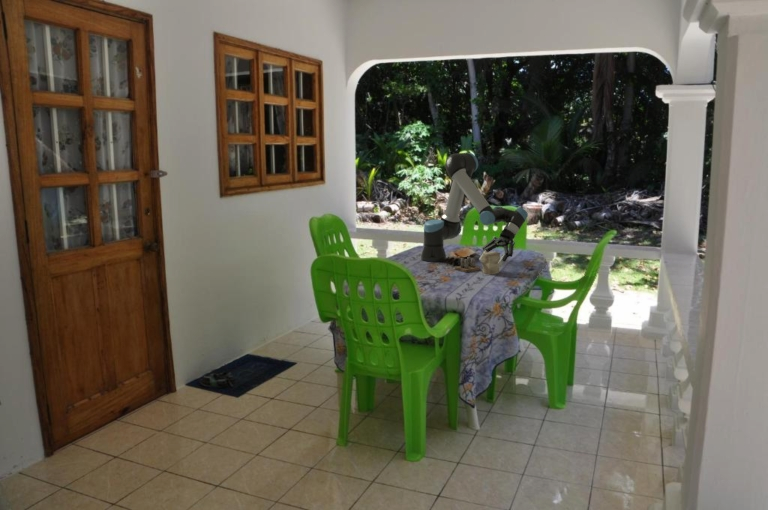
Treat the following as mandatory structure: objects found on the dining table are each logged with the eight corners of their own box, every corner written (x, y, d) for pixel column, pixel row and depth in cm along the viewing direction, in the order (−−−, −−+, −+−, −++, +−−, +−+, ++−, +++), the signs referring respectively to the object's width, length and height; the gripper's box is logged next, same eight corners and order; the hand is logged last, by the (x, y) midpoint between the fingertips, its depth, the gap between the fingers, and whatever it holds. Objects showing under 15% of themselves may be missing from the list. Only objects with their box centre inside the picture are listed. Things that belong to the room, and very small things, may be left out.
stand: (454, 269, 348) (454, 258, 347) (468, 266, 355) (469, 255, 353) (466, 272, 341) (466, 261, 340) (480, 269, 348) (480, 258, 346)
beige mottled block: (482, 273, 340) (482, 253, 338) (492, 270, 345) (493, 251, 343) (489, 274, 337) (489, 254, 334) (499, 272, 341) (500, 252, 339)
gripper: (530, 240, 337) (510, 271, 331) (495, 233, 356) (476, 263, 350) (523, 231, 332) (503, 262, 327) (489, 225, 352) (469, 255, 346)
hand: (489, 263), depth 339 cm, fingers open, 13 cm apart
